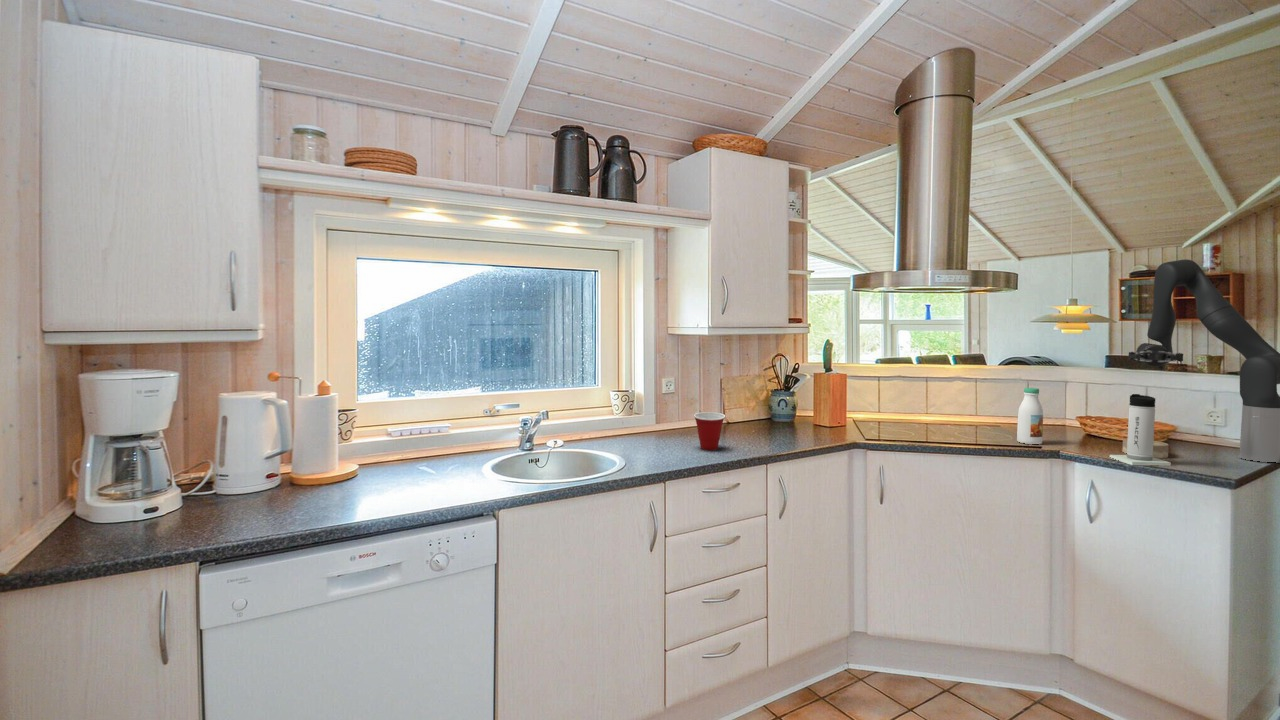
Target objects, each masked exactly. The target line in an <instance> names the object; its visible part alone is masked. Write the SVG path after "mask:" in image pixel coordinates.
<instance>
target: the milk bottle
mask: <svg viewBox="0 0 1280 720" xmlns="http://www.w3.org/2000/svg"><path fill="white" fill-rule="evenodd" d="M1023 395H1024V397H1023V399H1022V401H1021V404H1020V405H1019V407H1018V411H1017V429H1016V431H1017V432H1016V441H1018V442H1017V443H1019V442H1020V444H1023V443H1025V445H1032V444H1039V445H1042V444H1043V429H1044V428H1043V427H1044V409H1043V406H1042V404H1041V402H1040V399H1039V395H1040V388H1037V387H1024V388H1023Z"/></svg>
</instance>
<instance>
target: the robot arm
mask: <svg viewBox="0 0 1280 720" xmlns="http://www.w3.org/2000/svg"><path fill="white" fill-rule="evenodd" d="M1182 286H1183V287H1184V288H1185V289H1187V290H1188V291H1189V293H1190V294H1191V295H1192V296H1193V298H1194V299H1195V301H1196V302H1195V303H1196V315H1197V318H1198V320H1199V321H1200V323H1201V324H1202V325H1203V326H1204V327H1205V328H1206V329H1207V331H1208V332H1209V333H1210V334H1211V335H1212V336H1214V337H1215V338H1217V339H1218V340H1220V341H1221V342H1223V343H1224V344H1225V345H1228V346H1229V347H1232V349H1235V351H1237V352H1239V353H1240V354H1241V355H1242V356H1243V357H1244V359H1245V360H1244V361H1243V362H1242V364H1241V366H1240V369H1239V396H1240V398H1241V400H1242V405H1241V406H1242V408H1241V424H1240V436H1239V437H1240V438H1239V440H1240V441H1239V456H1238V458H1239V459H1241V458H1242V460H1245V459H1246V460H1247V461H1250V460H1253V461H1252V462H1257V461H1260V462H1259V463H1267V462H1276V463H1275V464H1277V463H1280V395H1279V394H1278V387H1277V386H1278V385H1280V352H1278V351H1277V349H1275V348H1274V347H1273V346H1272V345H1270V344H1269V343H1268V342H1267V341H1266V340H1265V339H1264V337H1262V336H1261V335H1260V334H1259V332H1258V331H1256V329H1255V328H1254V327H1253V326H1251V324H1250V323H1249V322H1248V321H1247V320H1246V319H1245V318H1244V316H1243V315H1242V314H1241V312H1239V311H1238V310H1237V309H1236V308H1235V307H1234V305H1233V304H1231V303H1230V301H1228V300H1227V299H1226V297H1224V295H1223V294H1222V293H1221V292H1220V291H1219V289H1218V288H1216V286H1215V285H1214V284H1213V283H1212V282H1211V280H1210V279H1209V277H1208V275H1206V273H1205V272H1204V270H1203V269H1202V267H1200V265H1199V264H1198V263H1196V262H1195V261H1194V260H1192V259H1178V260H1174V261H1171V260H1170V261H1167V262H1163V263H1161V264H1160V265H1159V266H1158V267H1157V268H1156V270H1155V273H1154V282H1153V304H1152V307H1153V308H1152V314H1151V319H1150V322H1149V326H1148V330H1147V334H1146V335H1147V338H1148V339H1149V340H1152V341H1155V342H1158V343H1159V344H1156V343H1155V344H1154V343H1149V342H1148V343H1147V342H1143V343H1141V344H1140V345H1139V346H1138V347H1137V349H1136V352H1135V351H1130V352H1128V356H1127V357H1128V360H1129V361H1132V360H1135V361H1139V362H1143V363H1144V364H1146V365H1147V366H1149V367H1161V366H1163V365H1167V364H1169V363H1171V362H1183V361H1184V353H1183V352H1182V353H1181V352H1176V353H1174V351H1173V344H1172V339H1173V334H1174V330H1175V326H1176V323H1177V316H1176V315H1177V314H1176V311H1175V309H1174V306H1173V304H1172V303H1173V302H1172V295H1173V293H1174V290H1175V288H1177V287H1182ZM1246 460H1245V461H1246Z"/></svg>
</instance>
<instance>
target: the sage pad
mask: <svg viewBox="0 0 1280 720" xmlns="http://www.w3.org/2000/svg"><path fill="white" fill-rule="evenodd" d="M1110 457H1111V458H1110ZM1109 458H1110V459H1112V458H1114V459H1113V460H1115V459H1116V460H1115V461H1118V460H1119V461H1118V462H1121V463H1124V464H1128V465H1131V466H1150V465H1159V466H1160V467H1166V466H1167V467H1171V466H1172V465H1171V464H1172V463H1171V462H1170V461H1166V460H1164V459H1163V460H1162V459H1161V458H1153V459H1152V460H1150V461H1143V460H1135V459H1130V458H1128V457H1127V454H1109Z"/></svg>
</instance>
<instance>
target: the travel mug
mask: <svg viewBox="0 0 1280 720" xmlns="http://www.w3.org/2000/svg"><path fill="white" fill-rule="evenodd" d="M1128 407H1129V408H1128V422H1127V424H1128V426H1127V427H1128V428H1127V438H1126V439H1127V454H1126V455H1127V457H1128V458H1130V459H1135V460H1143V461H1150V460H1152V459H1153V455H1152V454H1153V441H1155V440H1154V438H1155V437H1154V436H1155V419H1156V418H1155V415H1156V397H1153V396H1149V395H1143V394H1140V393H1139V394H1138V393H1132V394H1130V395H1129V404H1128Z"/></svg>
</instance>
